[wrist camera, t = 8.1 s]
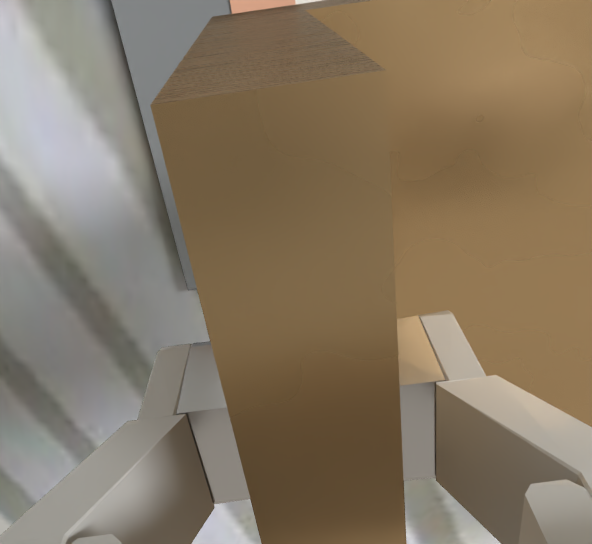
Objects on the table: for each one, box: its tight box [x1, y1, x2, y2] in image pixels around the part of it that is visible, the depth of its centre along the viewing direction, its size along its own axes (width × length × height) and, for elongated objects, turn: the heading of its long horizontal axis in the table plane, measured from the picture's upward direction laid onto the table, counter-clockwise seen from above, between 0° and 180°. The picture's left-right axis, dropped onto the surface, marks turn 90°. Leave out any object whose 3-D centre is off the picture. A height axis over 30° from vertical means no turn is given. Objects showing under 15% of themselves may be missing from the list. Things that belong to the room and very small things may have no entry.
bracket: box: [150, 0, 592, 544], centre depth 9 cm, size 9×10×7 cm
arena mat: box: [111, 0, 323, 290], centre depth 23 cm, size 17×21×1 cm
